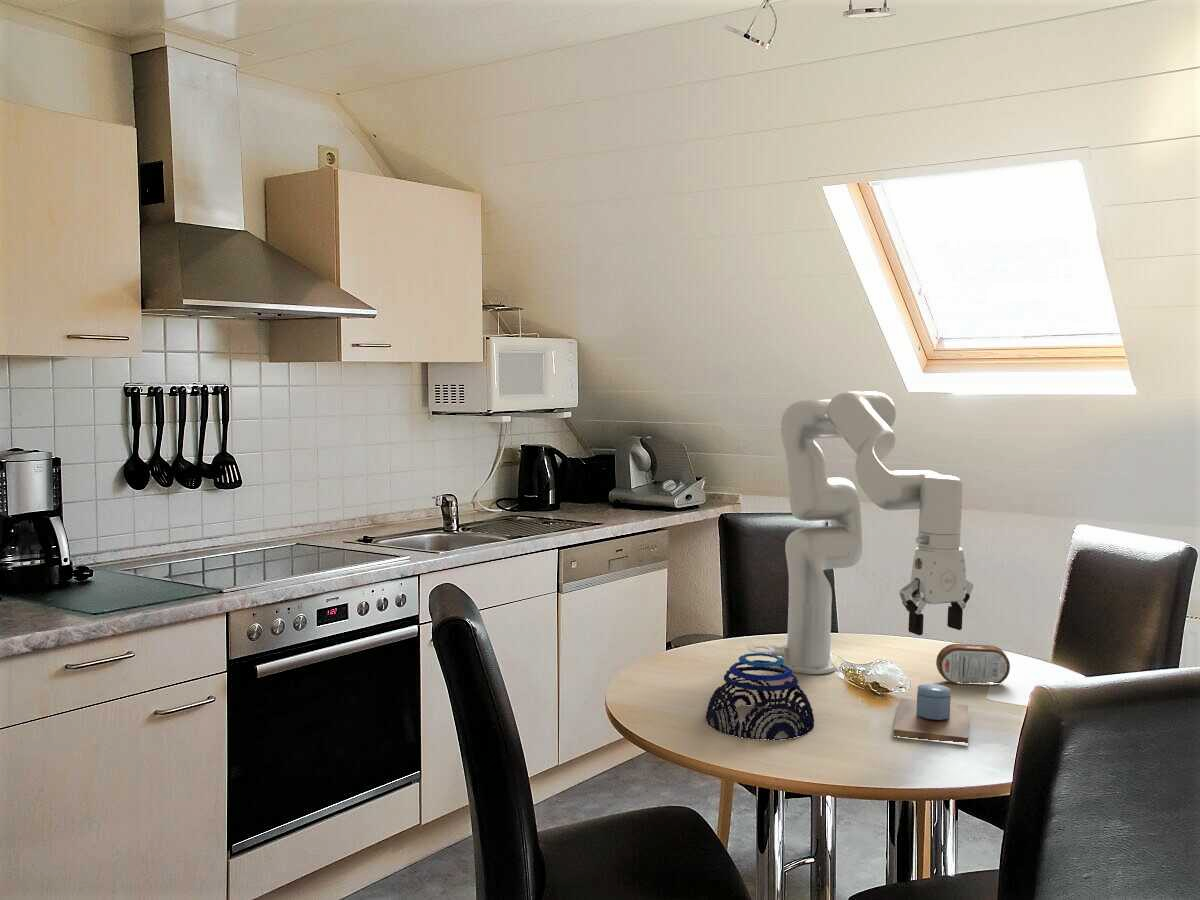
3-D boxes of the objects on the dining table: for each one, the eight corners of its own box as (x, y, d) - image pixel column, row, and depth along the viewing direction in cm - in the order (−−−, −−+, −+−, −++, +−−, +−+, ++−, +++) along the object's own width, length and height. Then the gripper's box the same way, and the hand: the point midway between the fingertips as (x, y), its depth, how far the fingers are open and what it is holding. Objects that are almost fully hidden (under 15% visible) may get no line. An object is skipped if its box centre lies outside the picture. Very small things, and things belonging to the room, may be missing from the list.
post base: (893, 737, 201) (893, 729, 201) (899, 705, 220) (899, 697, 220) (968, 746, 197) (968, 737, 197) (967, 712, 216) (968, 705, 216)
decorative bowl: (730, 745, 196) (732, 666, 195) (691, 710, 215) (693, 638, 214) (831, 736, 202) (834, 659, 200) (785, 703, 221) (787, 632, 220)
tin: (1006, 683, 236) (1008, 644, 235) (1010, 687, 233) (1012, 648, 232) (935, 680, 238) (936, 642, 237) (938, 684, 234) (939, 646, 234)
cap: (949, 721, 204) (950, 694, 204) (915, 717, 206) (916, 691, 206) (950, 711, 210) (951, 685, 209) (917, 708, 212) (918, 682, 211)
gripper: (917, 547, 198) (914, 640, 200) (988, 541, 206) (984, 631, 207) (889, 541, 205) (886, 631, 206) (958, 535, 213) (954, 622, 214)
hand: (935, 630), depth 207 cm, fingers open, 9 cm apart
